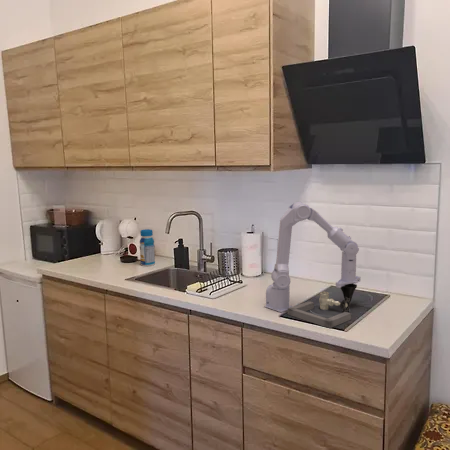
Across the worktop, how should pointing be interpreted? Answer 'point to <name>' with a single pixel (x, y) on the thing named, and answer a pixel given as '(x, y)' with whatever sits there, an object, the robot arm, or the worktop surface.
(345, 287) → the robot arm
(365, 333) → the worktop surface
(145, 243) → the beverage bottle
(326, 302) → the valve
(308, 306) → the chassis bay
